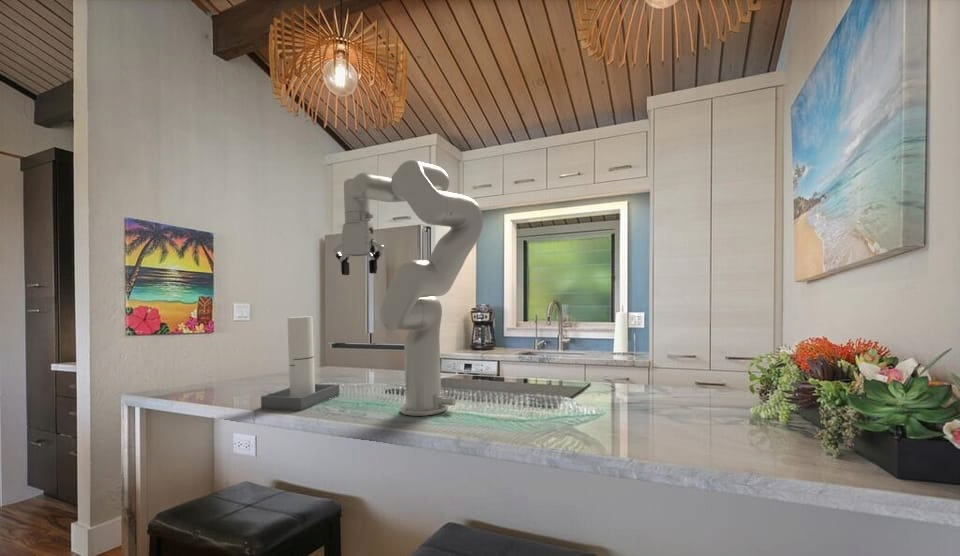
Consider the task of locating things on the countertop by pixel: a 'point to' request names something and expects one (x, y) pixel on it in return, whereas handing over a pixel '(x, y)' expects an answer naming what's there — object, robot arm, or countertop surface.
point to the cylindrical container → (301, 356)
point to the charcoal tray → (299, 398)
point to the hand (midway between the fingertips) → (359, 274)
